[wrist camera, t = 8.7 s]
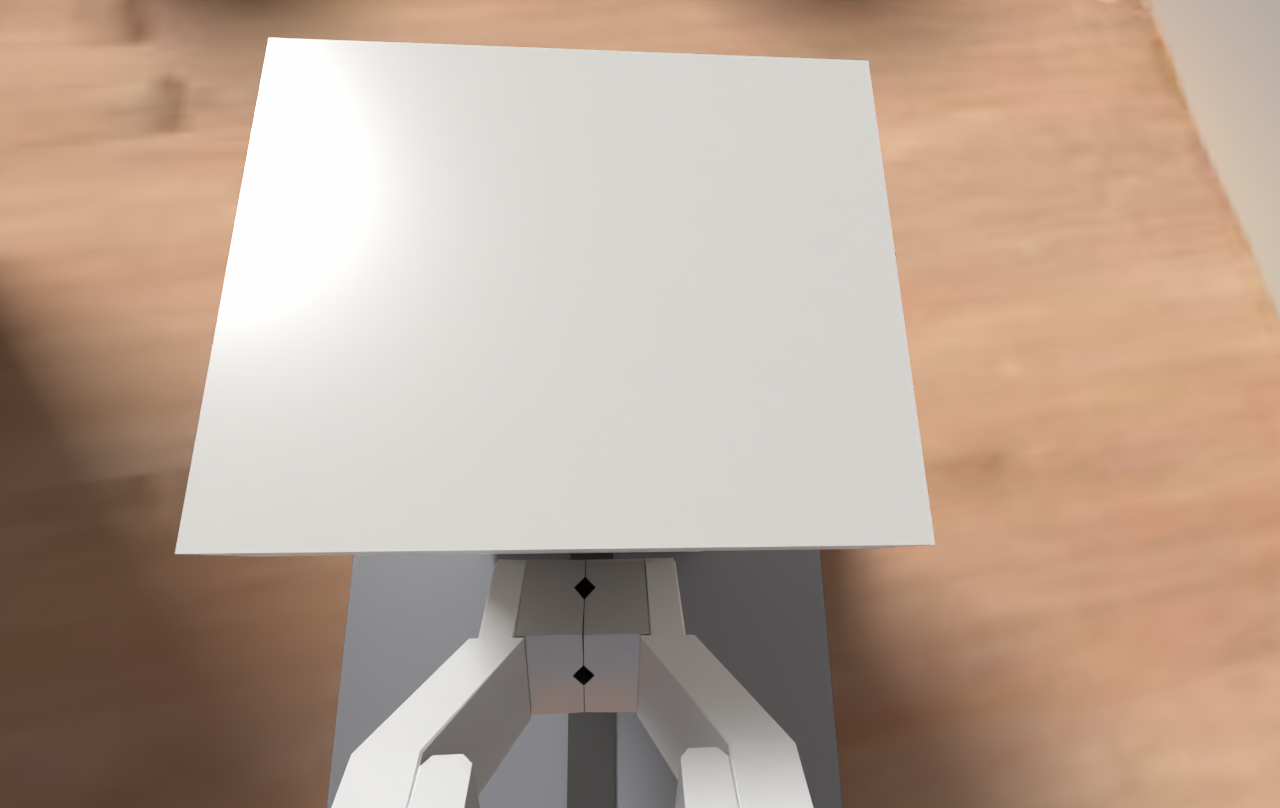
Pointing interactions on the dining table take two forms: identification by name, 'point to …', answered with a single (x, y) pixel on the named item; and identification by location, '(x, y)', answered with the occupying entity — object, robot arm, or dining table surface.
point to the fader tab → (557, 310)
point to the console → (585, 741)
